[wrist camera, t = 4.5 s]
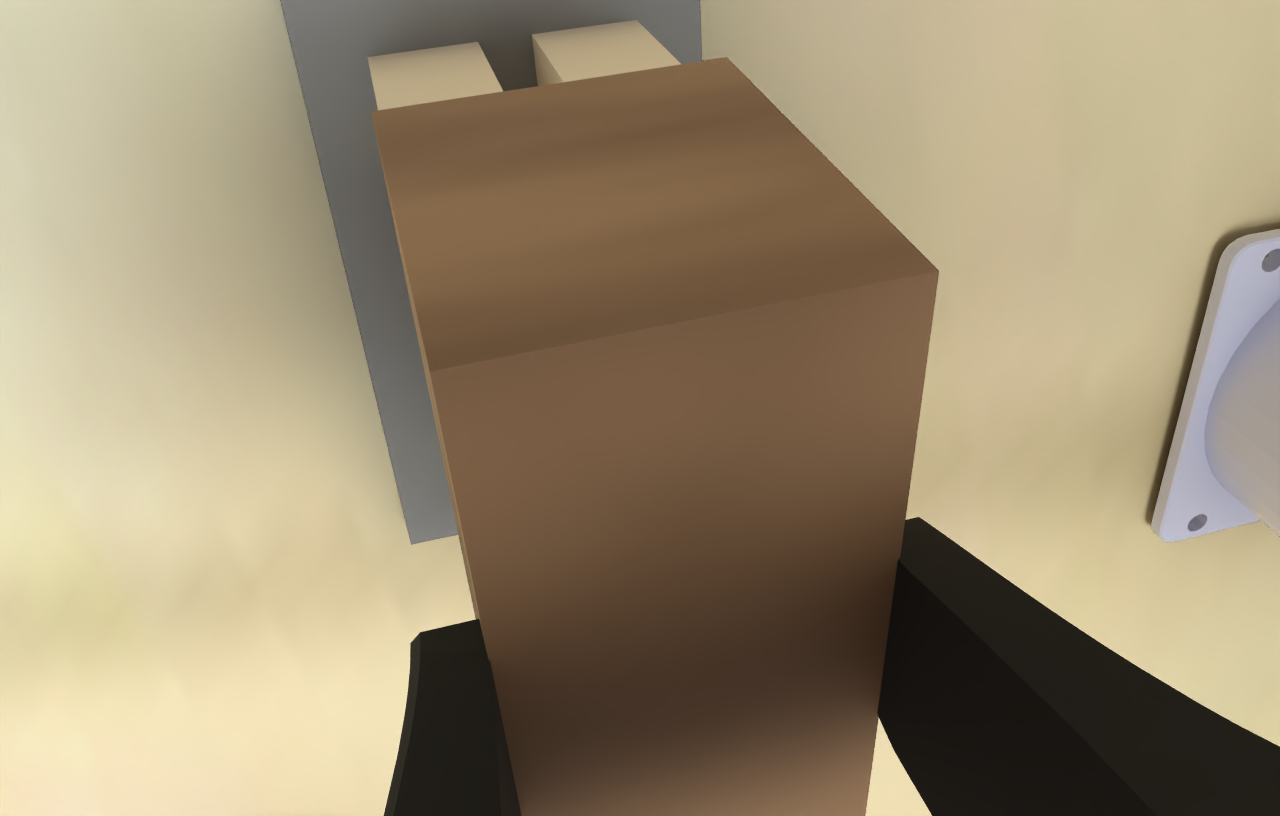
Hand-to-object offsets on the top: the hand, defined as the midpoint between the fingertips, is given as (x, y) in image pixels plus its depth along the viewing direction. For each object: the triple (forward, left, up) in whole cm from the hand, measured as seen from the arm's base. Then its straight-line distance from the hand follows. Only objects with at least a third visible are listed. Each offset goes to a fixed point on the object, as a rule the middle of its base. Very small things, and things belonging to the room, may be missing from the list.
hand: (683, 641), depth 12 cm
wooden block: (0, 0, -4) cm, 4 cm away
